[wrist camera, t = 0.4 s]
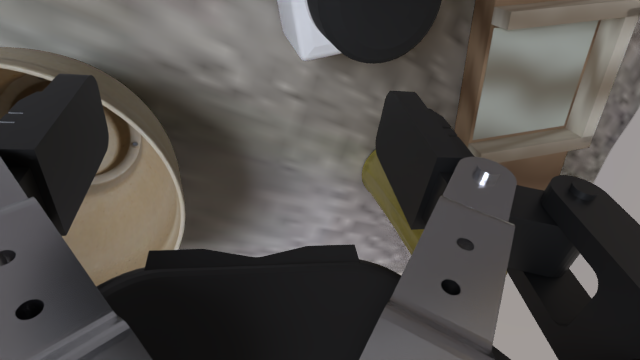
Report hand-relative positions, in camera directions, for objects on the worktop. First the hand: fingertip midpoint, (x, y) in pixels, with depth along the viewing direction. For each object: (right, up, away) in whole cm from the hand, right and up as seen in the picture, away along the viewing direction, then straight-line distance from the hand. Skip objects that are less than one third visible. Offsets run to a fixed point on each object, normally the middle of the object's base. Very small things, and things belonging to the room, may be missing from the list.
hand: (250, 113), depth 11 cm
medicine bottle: (+2, +12, +16) cm, 20 cm away
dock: (+20, +6, +25) cm, 32 cm away
